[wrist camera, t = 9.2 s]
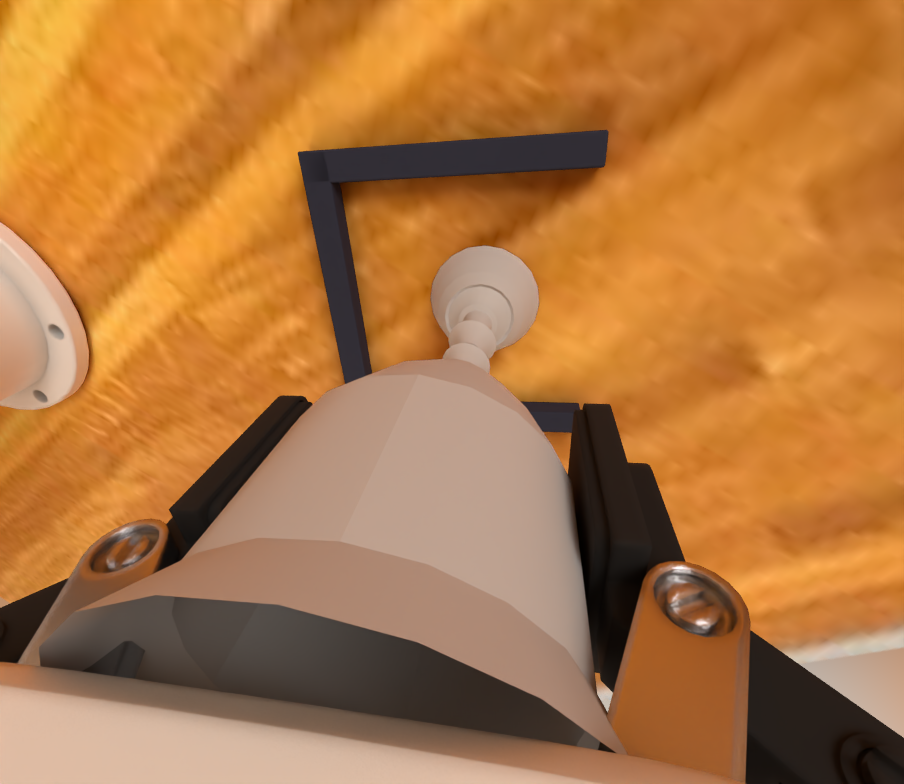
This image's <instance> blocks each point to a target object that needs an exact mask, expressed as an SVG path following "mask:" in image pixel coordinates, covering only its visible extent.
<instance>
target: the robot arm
mask: <svg viewBox="0 0 904 784" xmlns="http://www.w3.org/2000/svg"><path fill="white" fill-rule="evenodd" d="M88 367H89V349H88V343H87V338H86V333H85V330H84V327H83V324H82V322H81V319H80V316H79V314H78V311H77V310H76V308H75V306H74V304H73V302H72V300H71V298H70V297H69V295H68V293H67V291H66V290H65V288H64V287H63V286H62V284H61V283H60V281H59V280H58V278H57V277H56V276H55V274H54V273H53V271H52V270H51V269H50V268H49V267H48V266H47V264H46V263H45V262H44V261H43V260H42V259H41V258H40V257H39V256H38V254H37V253H36V252H35V251H34V250H33V249H32V248H31V247H30V246H29V245H28V244H26V243H25V242H24V241H23V240H22V239H21V238H20V237H19V236H18V235H16V234H15V233H14V232H13V231H12V230H11V229H9V228H8V227H6V226H5V225H4V224H2V223H1V222H0V405H1V406H6V407H10V408H15V409H25V410H37V409H42V408H48V407H50V406H53V405H55V404H57V403H59V402H61V401H62V400H64V399H66V398H68V397H69V396H71V395H72V394H74V393H75V392H76V391H77V390H78V389H79V388H80V386H81V385H82V383H83V382H84V380H85V377H86V374H87V371H88ZM312 405H313V404H312V403H311V402H308V401H307V399H306V398H305V397H303V396H279V397H278V398H277V399H276V400H275V401H274V402H273V403H272V404H271V405H270V406H269V407H268V408H267V409H266V410H265V411H264V412H263V413H262V414H261V415H260V416H259V417H258V418H257V419H256V420H255V421H254V423H253V424H252V425H251V426H250V427H249V428H248V429H247V430H246V431H245V432H244V433H243V434H242V435H241V436H240V437H239V438H238V439H237V440H236V441H235V442H234V443H233V444H232V445H231V446H230V447H229V448H228V449H227V450H226V451H225V452H224V453H223V454H222V455H221V456H220V457H219V459H218V460H217V461H216V462H215V463H214V464H213V465H212V466H211V467H210V468H209V469H208V470H207V471H206V472H205V473H204V474H203V475H202V476H201V477H200V478H199V479H198V480H197V481H196V482H195V483H194V484H193V485H192V486H191V487H190V488H189V489H188V490H187V491H186V492H185V493H184V495H183V496H182V497H181V498H180V499H179V500H178V501H177V502H176V503H175V504H174V505H173V506H172V507H171V508H170V509H169V511H170V512H171V514H172V516H173V518H172V519H171V520H170V521H169V522H168V523H167V524H165V523H164V522H162V521H161V520H155V519H144V520H138V521H134V522H131V523H127V524H125V525H123V526H120V527H118V528H116V529H114V530H112V531H111V532H109V533H107V534H106V535H104V536H103V537H101V538H100V539H99V540H97V541H96V542H95V543H94V544H93V545H92V546H90V547H89V549H88V550H87V551H86V552H85V554H84V555H83V556H82V558H81V559H80V561H79V563H78V564H77V566H76V568H75V569H74V571H73V572H72V574H71V576H70V577H69V578H68V579H65V580H63V581H61V582H58V583H56V584H54V585H52V586H49V587H47V588H45V589H43V590H40V591H38V592H36V593H33V594H31V595H29V596H27V597H24V598H22V599H20V600H17V601H15V602H13V603H11V604H8V605H6V606H4V607H2V608H0V784H904V738H903V737H902V736H900V735H899V734H897V733H896V732H894V731H893V730H892V729H890V728H889V727H887V726H886V725H884V724H883V723H882V722H880V721H879V720H877V719H876V718H875V717H873V716H872V715H870V714H869V713H867V712H866V711H865V710H863V709H862V708H860V707H859V706H857V705H856V704H855V703H853V702H852V701H850V700H849V699H848V698H846V697H844V696H843V695H842V694H840V693H839V692H838V691H836V690H835V689H833V688H832V687H830V686H829V685H828V684H826V683H825V682H823V681H822V680H820V679H819V678H817V677H816V676H815V675H813V674H812V673H810V672H809V671H808V670H806V669H805V668H803V667H802V666H801V665H799V664H798V663H796V662H795V661H793V660H792V659H791V658H789V657H788V656H786V655H785V654H784V653H782V652H781V651H779V650H778V649H776V648H775V647H774V646H772V645H771V644H769V643H768V642H766V641H765V640H764V639H762V638H761V637H759V636H758V635H756V634H755V633H754V632H752V631H751V630H750V618H749V612H748V608H747V606H746V605H745V603H744V601H743V599H742V597H741V596H740V594H739V593H738V592H737V591H736V590H735V589H734V588H733V587H732V586H731V585H730V584H729V583H728V582H727V581H726V580H724V579H723V578H721V577H720V576H719V575H717V574H716V573H714V572H712V571H710V570H708V569H706V568H704V567H702V566H699V565H696V564H692V563H688V562H685V559H684V556H683V554H682V551H681V548H680V545H679V543H678V540H677V537H676V534H675V532H674V529H673V526H672V524H671V521H670V518H669V515H668V513H667V510H666V507H665V504H664V502H663V499H662V496H661V493H660V491H659V488H658V485H657V482H656V480H655V477H654V474H653V471H652V469H651V467H650V465H648V464H644V463H628V462H627V459H626V456H625V452H624V449H623V446H622V442H621V439H620V435H619V432H618V429H617V425H616V422H615V419H614V415H613V412H612V409H611V406H610V405H609V404H584V405H583V410H574V414H573V425H572V436H571V447H570V458H569V469H568V477H569V478H570V480H571V482H572V490H573V498H574V506H575V514H576V523H577V531H578V539H579V548H580V556H581V564H582V573H583V581H584V589H585V598H586V606H587V614H588V622H589V631H590V639H591V647H592V656H593V664H594V672H596V673H600V678H601V681H602V682H603V683H604V684H605V685H606V686H607V687H608V688H609V689H610V690H611V691H612V692H613V695H612V699H611V703H610V707H609V711H608V714H607V719H608V721H609V723H610V724H611V726H612V728H613V730H614V731H615V733H616V735H617V737H618V738H619V740H620V742H621V744H622V745H623V747H624V749H625V751H626V752H627V754H628V755H623V754H617V753H616V752H614V751H613V750H612V749H610V748H609V747H607V746H606V745H605V744H603V743H602V742H600V744H599V748H598V750H594V749H588V748H583V747H577V746H571V745H565V744H560V743H554V742H548V741H542V740H537V739H530V738H524V737H518V736H511V735H505V734H498V733H492V732H485V731H479V730H472V729H466V728H459V727H453V726H446V725H440V724H434V723H427V722H421V721H414V720H408V719H401V718H395V717H388V716H382V715H375V714H369V713H362V712H355V711H349V710H342V709H335V708H329V707H322V706H315V705H309V704H302V703H295V702H289V701H282V700H275V699H268V698H262V697H255V696H248V695H241V694H235V693H228V692H221V691H215V690H208V689H201V688H194V687H187V686H180V685H173V684H166V683H159V682H152V681H145V680H138V679H135V677H136V675H137V672H138V669H139V667H140V664H141V661H142V658H143V656H144V653H145V650H144V649H142V648H141V647H140V646H138V645H137V644H136V643H134V642H133V641H124V642H122V643H121V644H120V645H118V646H117V647H116V648H114V649H113V650H112V651H110V652H109V653H108V654H106V655H105V656H104V657H102V658H101V659H100V660H98V661H97V662H96V663H94V664H93V665H92V666H90V667H88V668H87V669H85V670H83V671H74V670H66V669H58V668H49V667H41V666H40V656H39V647H40V646H41V645H42V644H43V643H44V642H45V641H46V640H47V639H48V637H49V636H50V635H51V634H52V633H53V632H54V631H55V630H56V629H57V628H58V627H59V626H60V625H61V624H62V623H63V622H64V621H65V620H66V619H67V618H68V617H69V616H70V615H71V614H72V613H73V612H75V611H77V610H79V609H81V608H83V607H85V606H88V605H90V604H92V603H94V602H96V601H98V600H100V599H102V598H104V597H106V596H108V595H110V594H112V593H115V592H117V591H119V590H121V589H123V588H125V587H127V586H129V585H131V584H133V583H135V582H137V581H139V580H142V579H144V578H146V577H148V576H150V575H152V574H154V573H156V572H158V571H160V570H162V569H164V568H166V567H169V566H171V565H173V564H175V563H177V562H179V561H181V560H182V559H183V558H184V556H185V555H186V554H187V553H188V552H189V550H190V549H191V548H192V547H193V546H194V544H195V543H196V542H197V541H198V539H199V538H200V537H201V536H202V535H203V533H204V532H205V531H206V530H207V529H208V527H209V526H210V525H211V524H212V523H213V521H214V520H215V519H216V518H217V517H218V515H219V514H220V513H221V512H222V510H223V509H224V508H225V507H226V506H227V504H228V503H229V502H230V501H231V500H232V498H233V497H234V496H235V495H236V494H237V492H238V491H239V490H240V489H241V488H242V486H243V485H244V484H245V483H246V481H247V480H248V479H249V478H250V477H251V475H252V474H253V473H254V472H255V471H256V469H257V468H258V467H259V466H260V465H261V463H262V462H263V461H264V460H265V459H266V457H267V456H268V455H269V454H270V452H271V451H272V450H273V449H274V448H275V446H276V445H277V444H278V443H279V442H280V440H281V439H282V438H283V437H284V436H285V434H286V433H287V432H288V431H289V430H290V428H291V427H292V426H293V425H294V423H295V422H296V421H297V420H298V419H299V417H300V416H301V415H303V414H304V413H305V412H306V411H307V410H308V409H309V408H310V407H311V406H312Z"/></svg>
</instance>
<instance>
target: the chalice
mask: <svg viewBox="0 0 904 784" xmlns="http://www.w3.org/2000/svg"><path fill="white" fill-rule="evenodd" d="M431 303H432V309H433V314H434V316H435V318H436V320H437V322H438V324H439V326H440V327H441V329H442V330H443V331H444V333H445V334H446V336H447V337H448V338H449V346H450V348H449V349H447V350H446V352H445V353H444V355H443V359H434V360H416V361H404V362H401V363H398V364H396V365H393V366H390V367H388V368H385V369H382V370H380V371H377V372H374V373H372V374H369V375H367V376H364V377H362V378H359V379H357V380H354V381H352V382H349V383H347V384H344V385H342V386H339V387H337V388H334V389H331V390H329V391H327V392H326V393H325V394H324V395H323V396H321V397H320V398H319V399H318V400H317V401H316V402H315V403H314V404H313V405H312V406H311V407H310V408H309V409H308V410H307V411H306V412H305V413H304V414H303V415H301V416H300V417H299V419H298V420H297V421H296V422H295V423H294V425H293V426H292V427H291V428H290V430H289V431H288V432H287V433H286V434H285V436H284V437H283V438H282V439H281V440H280V442H279V443H278V444H277V445H276V446H275V448H274V449H273V450H272V451H271V452H270V454H269V455H268V456H267V457H266V459H265V460H264V461H263V462H262V463H261V465H260V466H259V467H258V468H257V469H256V471H255V472H254V473H253V474H252V475H251V477H250V478H249V479H248V480H247V481H246V483H245V484H244V485H243V486H242V488H241V489H240V490H239V491H238V492H237V494H236V495H235V496H234V497H233V498H232V500H231V501H230V502H229V503H228V504H227V506H226V507H225V508H224V509H223V510H222V512H221V513H220V514H219V515H218V517H217V518H216V519H215V520H214V521H213V523H212V524H211V525H210V526H209V527H208V529H207V530H206V531H205V532H204V533H203V535H202V536H201V537H200V538H199V539H198V541H197V542H196V543H195V544H194V546H193V547H192V548H191V549H190V550H189V552H188V553H187V554H186V555H185V556H184V558H183V559H182V560H181V561H179V562H177V563H175V564H173V565H171V566H169V567H166V568H164V569H162V570H160V571H158V572H156V573H154V574H152V575H150V576H148V577H146V578H144V579H142V580H139V581H137V582H135V583H133V584H131V585H129V586H127V587H125V588H123V589H121V590H119V591H117V592H115V593H112V594H110V595H108V596H106V597H104V598H102V599H100V600H98V601H96V602H94V603H92V604H90V605H88V606H85V607H83V608H81V609H79V610H77V611H75V612H73V613H72V614H71V615H70V616H69V617H68V618H67V619H66V620H65V621H64V622H63V623H62V624H61V625H60V626H59V627H58V628H57V629H56V630H55V631H54V632H53V633H52V634H51V635H50V636H49V637H48V639H47V640H46V641H45V642H44V643H43V644H42V645H41V646H40V647H39V656H40V666H41V667H49V668H58V669H66V670H74V671H83V670H85V669H87V668H88V667H90V666H92V665H93V664H94V663H96V662H97V661H98V660H100V659H101V658H102V657H104V656H105V655H106V654H108V653H109V652H110V651H112V650H113V649H114V648H116V647H117V646H118V645H120V644H121V643H122V642H124V641H133V642H134V643H136V644H137V645H138V646H140V647H141V648H142V649H144V650H145V653H144V656H143V658H142V661H141V664H140V667H139V669H138V672H137V675H136V677H135V679H138V680H145V681H152V682H159V683H166V684H173V685H180V686H187V687H194V688H201V689H208V690H215V691H221V692H228V693H235V694H241V695H248V696H255V697H262V698H268V699H275V700H282V701H289V702H295V703H302V704H309V705H315V706H322V707H329V708H335V709H342V710H349V711H355V712H362V713H369V714H375V715H382V716H388V717H395V718H401V719H408V720H414V721H421V722H427V723H434V724H440V725H446V726H453V727H459V728H466V729H472V730H479V731H485V732H492V733H498V734H505V735H511V736H518V737H524V738H530V739H537V740H542V741H548V742H554V743H560V744H565V745H571V746H577V747H583V748H588V749H594V750H598V748H599V744H600V742H602V743H603V744H605V745H606V746H607V747H609V748H610V749H612V750H613V751H614V752H616V753H617V754H623V755H628V754H627V752H626V751H625V749H624V747H623V745H622V744H621V742H620V740H619V738H618V737H617V735H616V733H615V731H614V730H613V728H612V726H611V724H610V723H609V721H608V719H607V714H608V712H607V711H606V709H605V707H604V705H603V704H602V702H601V700H600V698H599V697H598V695H597V689H596V681H595V672H594V664H593V656H592V647H591V639H590V631H589V622H588V614H587V606H586V598H585V589H584V581H583V573H582V564H581V556H580V548H579V539H578V531H577V523H576V514H575V506H574V498H573V490H572V482H571V480H570V478H569V477H568V475H567V473H566V471H565V469H564V467H563V465H562V463H561V462H560V460H559V458H558V456H557V454H556V452H555V450H554V449H553V447H552V445H551V443H550V442H549V441H548V439H547V438H546V436H545V435H544V433H543V432H542V430H541V429H540V427H539V426H538V424H537V423H536V421H535V420H534V418H533V417H532V415H531V414H530V412H529V411H528V409H527V408H526V407H525V406H524V405H523V404H522V403H521V402H520V401H519V400H518V399H517V398H516V397H515V396H514V395H513V394H512V393H511V392H510V391H509V390H508V389H507V388H506V387H505V386H504V385H503V384H501V383H500V382H499V381H497V380H496V379H495V378H494V377H492V376H491V375H490V374H489V371H490V363H489V359H490V358H491V357H492V355H493V354H494V352H495V351H497V350H499V349H502V348H504V347H507V346H509V345H512V344H514V343H515V342H516V341H518V340H519V339H520V338H521V337H523V336H524V335H525V334H526V333H527V332H528V330H529V328H530V327H531V325H532V324H533V322H534V321H535V318H536V314H537V310H538V307H539V296H538V286H537V284H536V282H535V279H534V277H533V275H532V272H531V271H530V270H529V268H528V267H527V266H526V265H525V264H524V263H523V262H522V261H521V259H520V258H518V257H517V256H515V255H513V254H511V253H510V252H508V251H506V250H504V249H501V248H496V247H491V246H478V247H470V248H466V249H464V250H462V251H460V252H458V253H456V254H454V255H452V256H451V257H450V258H449V259H448V260H447V261H446V262H445V263H444V264H443V265H442V266H441V267H440V269H439V271H438V273H437V275H436V277H435V279H434V281H433V284H432V292H431Z"/></svg>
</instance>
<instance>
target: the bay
mask: <svg viewBox="0 0 904 784" xmlns="http://www.w3.org/2000/svg"><path fill="white" fill-rule="evenodd" d="M607 142H608V131H607V130H599V131H585V132H571V133H557V134H543V135H529V136H514V137H500V138H486V139H472V140H458V141H444V142H430V143H416V144H402V145H388V146H374V147H359V148H345V149H331V150H317V151H303V152H298V156H299V161H300V166H301V171H302V176H303V181H304V185H305V190H306V195H307V200H308V205H309V210H310V215H311V219H312V224H313V229H314V234H315V239H316V244H317V249H318V253H319V258H320V263H321V268H322V273H323V278H324V283H325V287H326V292H327V297H328V302H329V307H330V312H331V317H332V322H333V326H334V331H335V336H336V341H337V346H338V351H339V356H340V360H341V365H342V370H343V375H344V380H345V384H347V383H349V382H352V381H354V380H357V379H359V378H362V377H364V376H367V375H369V374H372V370H371V364H370V358H369V352H368V346H367V341H366V335H365V329H364V323H363V317H362V311H361V305H360V299H359V293H358V287H357V281H356V276H355V270H354V264H353V258H352V252H351V246H350V240H349V234H348V228H347V222H346V217H345V211H344V205H343V199H342V193H341V187H340V183H341V182H359V181H376V180H393V179H411V178H428V177H445V176H463V175H480V174H497V173H514V172H532V171H549V170H566V169H584V168H601V167H604V166H605V162H606V152H607ZM521 403H522V404H523V405H524V406H525V407H526V408H527V409H528V411H529V412H530V414H531V415H532V417H533V418H534V420H535V421H536V423H537V424H538V426H539V427H540V429H541V430H542V432H570V433H572V425H573V414H574V410H580V408H579V404H578V403H550V402H521Z"/></svg>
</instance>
